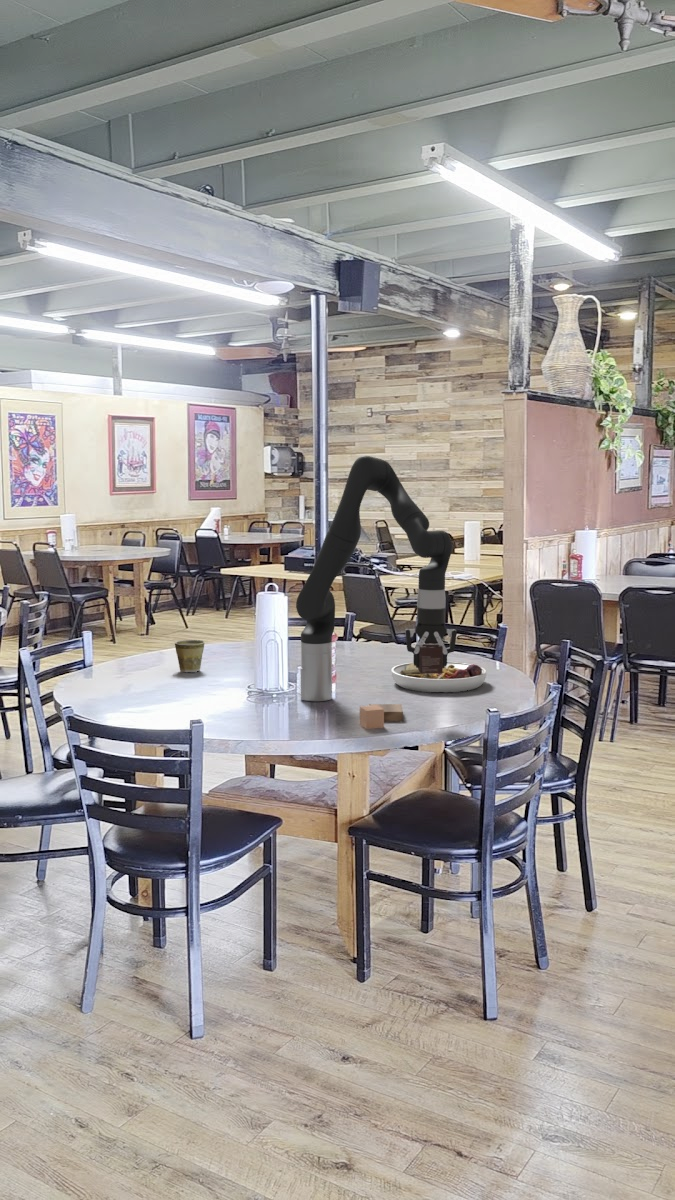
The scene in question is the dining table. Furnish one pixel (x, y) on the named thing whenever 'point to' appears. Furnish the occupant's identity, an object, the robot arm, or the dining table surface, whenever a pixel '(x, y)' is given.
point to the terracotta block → (371, 717)
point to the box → (430, 659)
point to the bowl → (440, 678)
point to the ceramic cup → (189, 654)
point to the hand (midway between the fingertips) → (430, 667)
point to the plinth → (391, 711)
